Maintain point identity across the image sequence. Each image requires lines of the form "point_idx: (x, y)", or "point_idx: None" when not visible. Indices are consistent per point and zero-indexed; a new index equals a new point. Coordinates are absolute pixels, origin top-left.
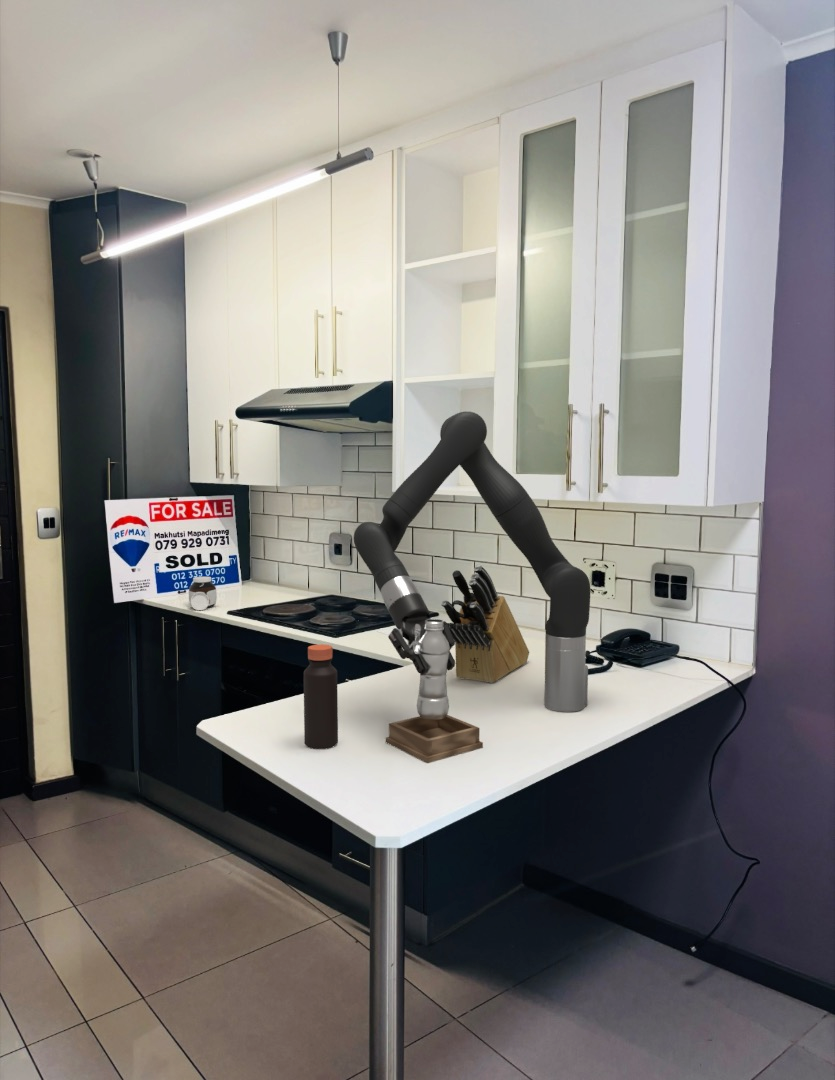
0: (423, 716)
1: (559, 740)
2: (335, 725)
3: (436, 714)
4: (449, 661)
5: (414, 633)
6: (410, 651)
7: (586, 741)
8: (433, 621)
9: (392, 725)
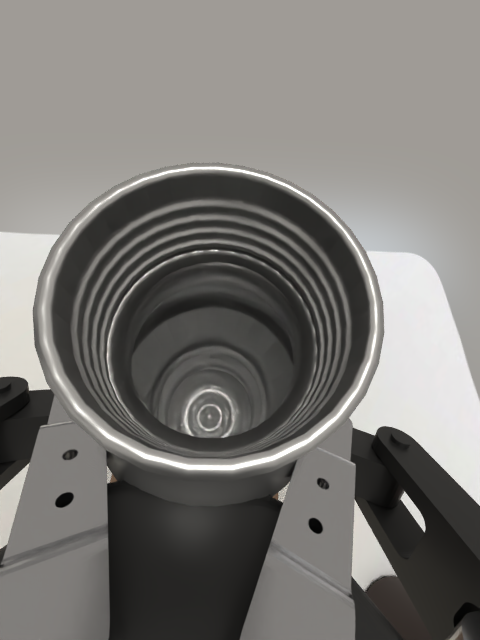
0: (247, 411)
1: (35, 274)
2: (410, 609)
3: (232, 379)
4: None
5: (349, 559)
6: (379, 430)
7: (14, 243)
8: (106, 412)
9: (277, 497)
